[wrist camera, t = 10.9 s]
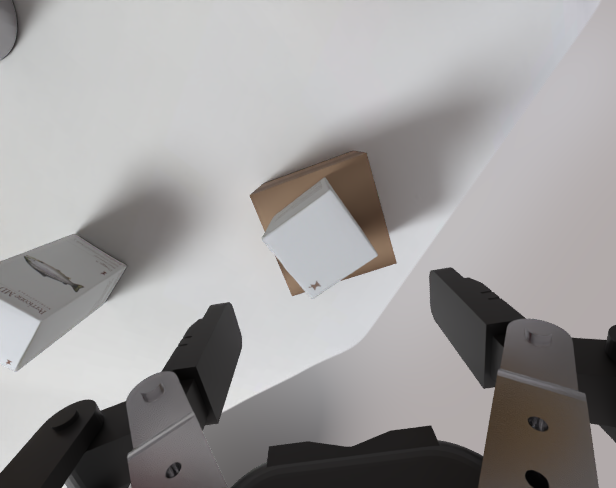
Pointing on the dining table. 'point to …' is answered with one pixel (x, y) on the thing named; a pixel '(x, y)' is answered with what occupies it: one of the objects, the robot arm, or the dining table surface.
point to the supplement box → (50, 295)
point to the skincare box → (318, 240)
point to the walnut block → (352, 192)
